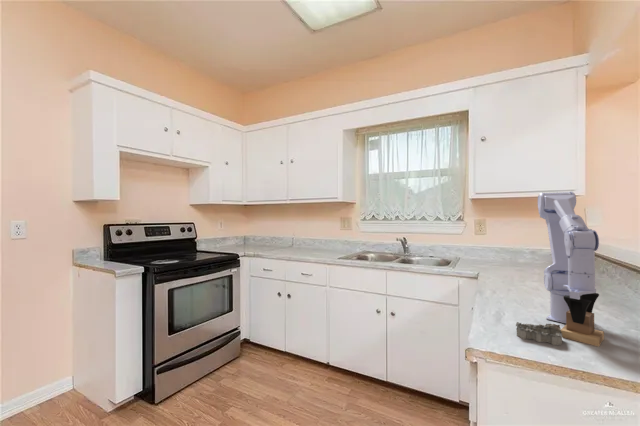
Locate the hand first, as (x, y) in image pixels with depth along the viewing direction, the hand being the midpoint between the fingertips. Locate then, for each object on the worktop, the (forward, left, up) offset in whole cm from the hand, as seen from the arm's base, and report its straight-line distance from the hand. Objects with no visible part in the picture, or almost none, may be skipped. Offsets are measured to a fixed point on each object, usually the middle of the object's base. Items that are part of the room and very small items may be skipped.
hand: (581, 319), depth 82 cm
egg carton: (+10, -8, -6) cm, 14 cm away
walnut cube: (0, 0, -3) cm, 3 cm away
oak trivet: (0, 0, -6) cm, 6 cm away
